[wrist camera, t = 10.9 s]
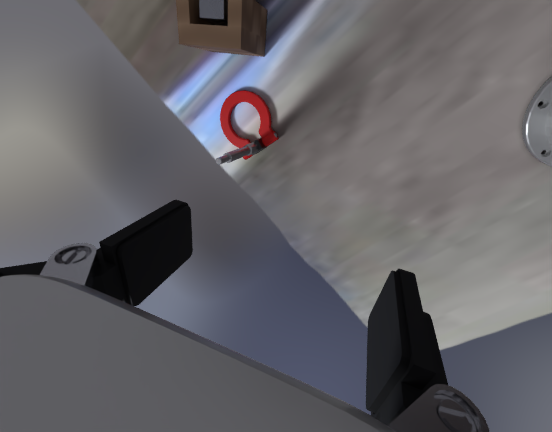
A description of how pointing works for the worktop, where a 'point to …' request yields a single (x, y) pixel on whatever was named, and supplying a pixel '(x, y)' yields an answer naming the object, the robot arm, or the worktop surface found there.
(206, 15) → the rail
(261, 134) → the tow hook
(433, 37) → the worktop surface
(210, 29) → the posts
